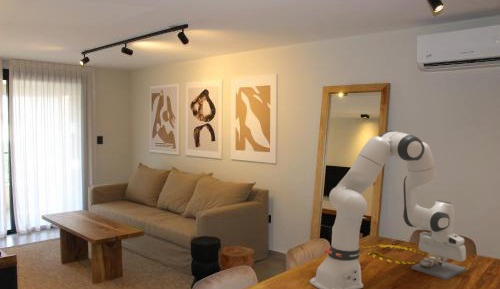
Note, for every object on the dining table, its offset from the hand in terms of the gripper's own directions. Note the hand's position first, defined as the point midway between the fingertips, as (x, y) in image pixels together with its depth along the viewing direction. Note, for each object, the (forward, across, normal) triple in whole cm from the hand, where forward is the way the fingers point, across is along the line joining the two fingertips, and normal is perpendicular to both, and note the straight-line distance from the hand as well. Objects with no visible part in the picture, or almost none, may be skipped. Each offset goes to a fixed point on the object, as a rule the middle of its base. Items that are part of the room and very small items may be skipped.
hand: (440, 265), depth 179 cm
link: (+1, -5, +1) cm, 5 cm away
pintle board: (+2, -1, 0) cm, 2 cm away
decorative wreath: (+3, -28, +4) cm, 28 cm away
